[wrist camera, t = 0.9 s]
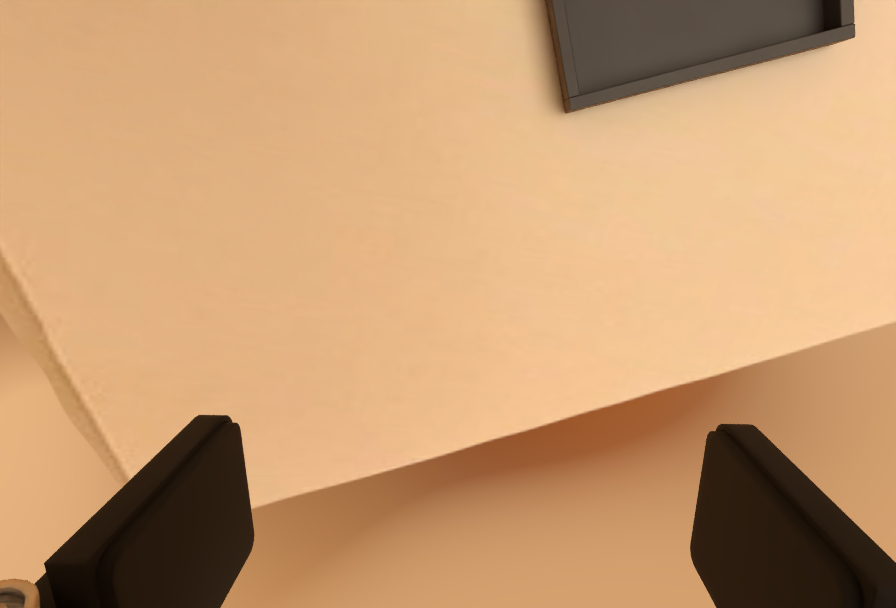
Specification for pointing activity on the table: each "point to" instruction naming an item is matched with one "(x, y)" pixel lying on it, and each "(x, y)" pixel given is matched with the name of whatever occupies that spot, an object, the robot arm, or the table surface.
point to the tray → (679, 40)
